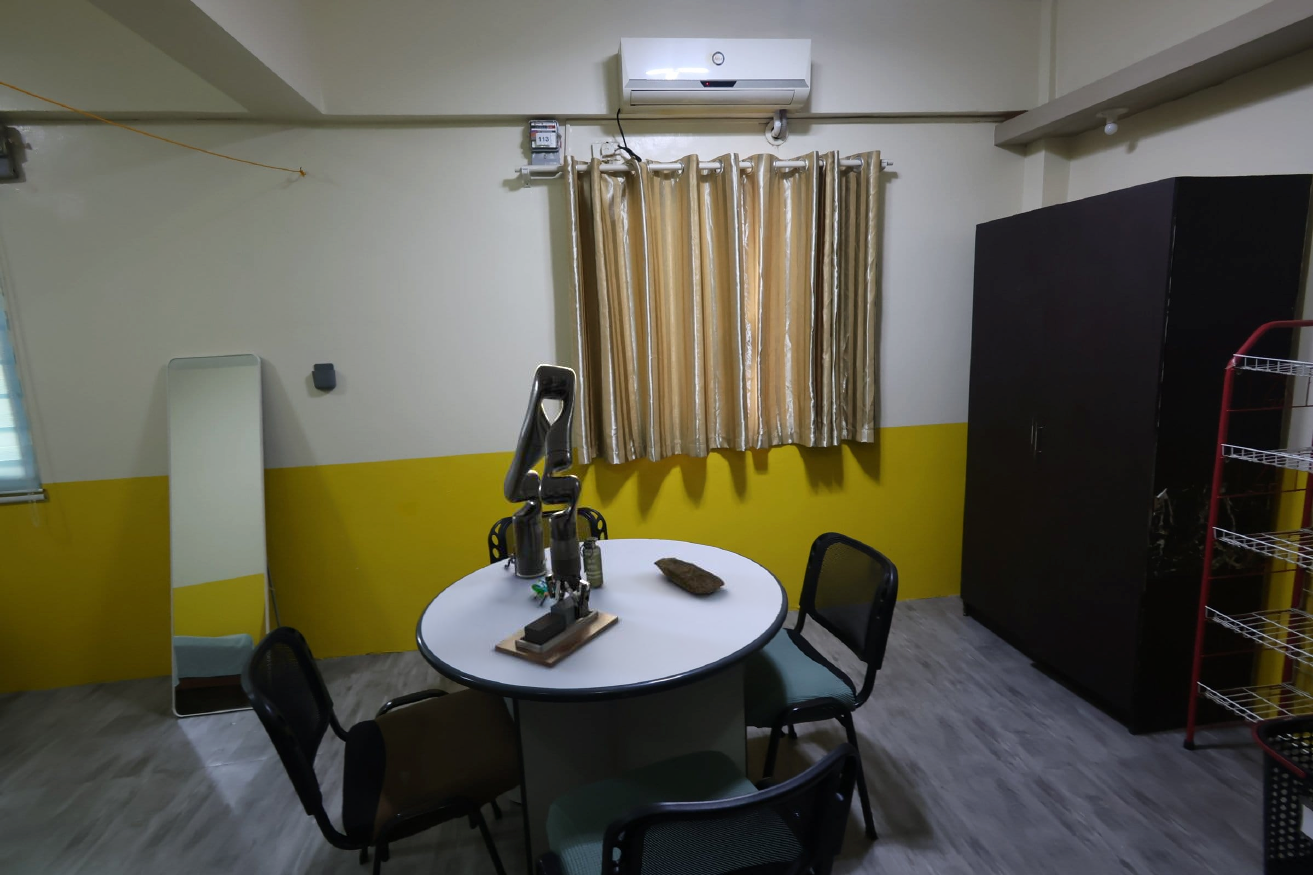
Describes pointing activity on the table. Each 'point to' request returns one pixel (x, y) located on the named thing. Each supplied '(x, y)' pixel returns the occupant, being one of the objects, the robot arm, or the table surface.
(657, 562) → the stone
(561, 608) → the pad
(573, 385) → the robot arm
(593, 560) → the grenade
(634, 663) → the table surface
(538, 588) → the stick construction toy
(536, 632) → the pad
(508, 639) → the mount board
